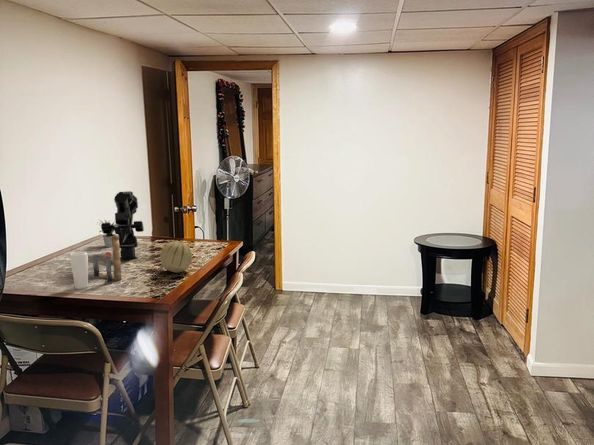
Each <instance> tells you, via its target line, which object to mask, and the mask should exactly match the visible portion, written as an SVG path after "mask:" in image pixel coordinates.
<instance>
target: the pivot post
mask: <svg viewBox="0 0 594 445" xmlns="http://www.w3.org/2000/svg"><path fill="white" fill-rule="evenodd" d="M99 263H100V262H99V254H93V255H92V268H93V275H91V278H92V279H99V278H101V277H99V273H100V264H99Z"/></svg>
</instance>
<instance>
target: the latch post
mask: <svg viewBox="0 0 594 445" xmlns="http://www.w3.org/2000/svg"><path fill="white" fill-rule="evenodd" d="M111 256H112V254H111V252H110V251H107V252H105V253H104V257H105V266H106V267H105V269H106V274H107V278H106V281H105V282H104V283H105V284H110V285H111V284H114V283H115V281H116V280H114V279H112V274H113V273H112V261H111V260H112V258H111Z"/></svg>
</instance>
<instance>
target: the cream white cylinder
mask: <svg viewBox="0 0 594 445" xmlns="http://www.w3.org/2000/svg"><path fill="white" fill-rule="evenodd" d="M69 257H70V267H71V272H72V277H73V282H74V283H73V285H74V288H75V289H77V290H82V289H87V288H88V286H89V257H88V252H87V251H74V252H71V253H70V256H69Z"/></svg>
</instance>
